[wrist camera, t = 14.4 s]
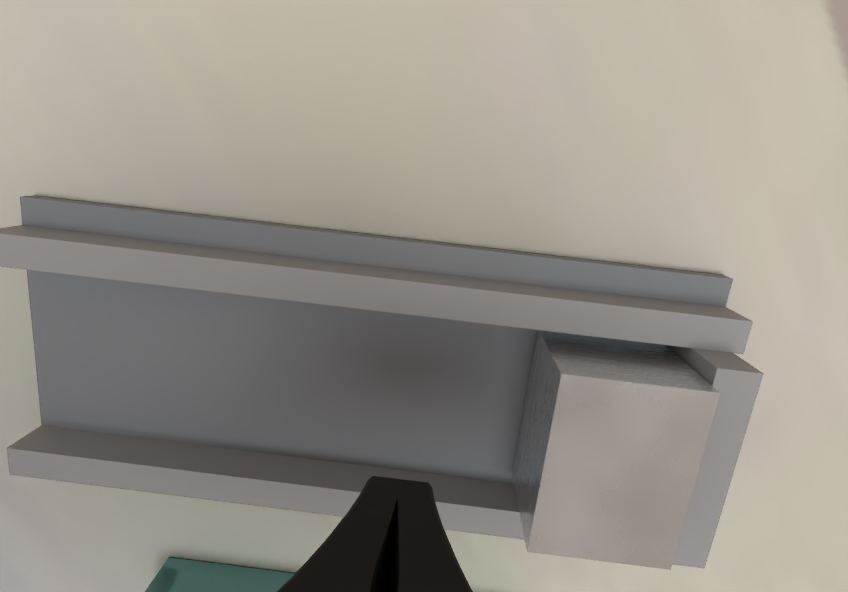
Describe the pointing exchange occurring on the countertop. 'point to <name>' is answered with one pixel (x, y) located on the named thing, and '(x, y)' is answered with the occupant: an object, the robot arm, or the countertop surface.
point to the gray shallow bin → (331, 359)
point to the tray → (215, 578)
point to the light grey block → (609, 448)
